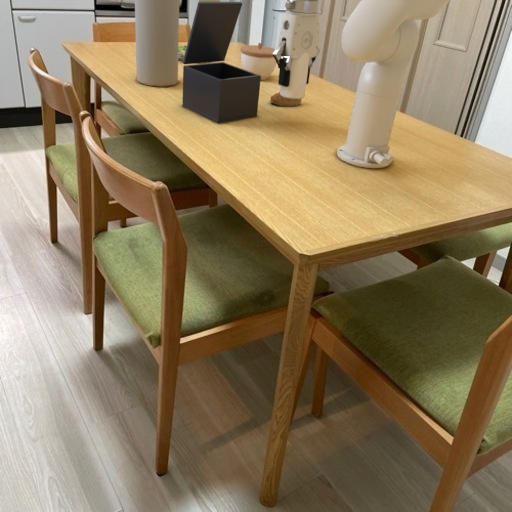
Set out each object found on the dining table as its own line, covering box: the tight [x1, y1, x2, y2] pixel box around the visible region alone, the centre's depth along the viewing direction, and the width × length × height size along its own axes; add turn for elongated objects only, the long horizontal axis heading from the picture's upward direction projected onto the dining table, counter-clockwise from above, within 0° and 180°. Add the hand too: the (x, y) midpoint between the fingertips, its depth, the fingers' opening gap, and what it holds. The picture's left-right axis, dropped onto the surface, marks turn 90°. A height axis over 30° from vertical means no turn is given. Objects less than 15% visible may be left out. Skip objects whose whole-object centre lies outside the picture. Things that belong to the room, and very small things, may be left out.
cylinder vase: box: [134, 0, 180, 88], centre depth 154 cm, size 12×12×25 cm
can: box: [279, 49, 309, 100], centre depth 131 cm, size 6×6×12 cm
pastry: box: [269, 91, 302, 107], centre depth 153 cm, size 9×7×4 cm
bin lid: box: [182, 0, 243, 65], centre depth 135 cm, size 16×14×5 cm
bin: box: [181, 61, 262, 124], centre depth 138 cm, size 16×14×11 cm
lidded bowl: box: [239, 42, 277, 81], centre depth 175 cm, size 13×13×11 cm
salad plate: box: [178, 45, 187, 62], centre depth 191 cm, size 19×18×5 cm
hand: (293, 83), depth 132 cm, fingers closed on can, 6 cm apart
